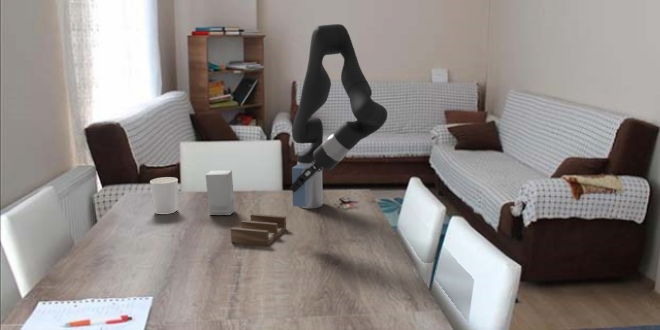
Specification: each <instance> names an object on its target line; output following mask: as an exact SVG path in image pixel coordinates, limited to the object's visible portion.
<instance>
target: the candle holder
mask: <svg viewBox="0 0 660 330" xmlns="http://www.w3.org/2000/svg"><path fill="white" fill-rule="evenodd" d="M178 181H179V179H178V178H177V177H173V176H172V177H171V176H169V177H168V176H165V177H157V178H153V179H151V180H150V181H149V184H150V185H149V186H150V190H151V198H152V204H153V211H155V212H157V213H170V212H175V211H177V210H178V211H179V196H178V195H179V191H178V190H179V187H178V185H179V184H178V183H179V182H178ZM178 211H177V212H178ZM155 212H154V213H155Z"/></svg>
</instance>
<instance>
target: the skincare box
mask: <svg viewBox="0 0 660 330" xmlns="http://www.w3.org/2000/svg"><path fill="white" fill-rule="evenodd" d="M205 182H206V191H207V192H206V194H207V205H208V214H210V215H231V214H232V213H235V211H236V209H235V194H234V192H235V191H234V182H233V171H232V170H210V171H209V172H208V173H206V174H205ZM231 216H232V215H231Z"/></svg>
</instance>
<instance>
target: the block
mask: <svg viewBox="0 0 660 330" xmlns="http://www.w3.org/2000/svg"><path fill="white" fill-rule="evenodd" d="M307 167H308V166H304V165H297V164H296V165H294V166H292V167H291V179H292V180H291V182H292V184H293V183H294V182H295V181H296V179H297V178H298V177H299V176H300V175H301V174H302V172H303V171H304V170H305V169H306V168H307ZM301 179H302V180H303V181H304V179H303V178H302V177H301ZM292 184H291V185H292ZM308 204H309V181H308V180H307V181H306V182H305V183H304V185H302V186H301V187H300V188H299V189H298V190H297V191H296V192H293V191H292V207H298V208H301V207H306V206H307V205H308Z"/></svg>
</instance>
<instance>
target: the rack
mask: <svg viewBox="0 0 660 330" xmlns="http://www.w3.org/2000/svg"><path fill="white" fill-rule="evenodd" d="M286 230H287V216H285V215H283V216H282V215H273V214H259V213H251V214H250V220H243V219H242V220H241V222H240V227H232V228H230V242H236V243H235V244H240V243H243V245H250V244H252V245H251V246H260V245H261V246H262V247H268V246H269V245H270V244H272V242H274V241H275V240H276V239H277V238H278V237H279V236H280V235H281V234H282V233H284V232H285V231H286Z"/></svg>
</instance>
